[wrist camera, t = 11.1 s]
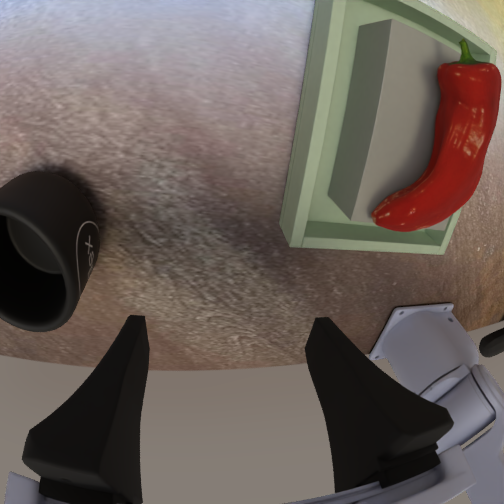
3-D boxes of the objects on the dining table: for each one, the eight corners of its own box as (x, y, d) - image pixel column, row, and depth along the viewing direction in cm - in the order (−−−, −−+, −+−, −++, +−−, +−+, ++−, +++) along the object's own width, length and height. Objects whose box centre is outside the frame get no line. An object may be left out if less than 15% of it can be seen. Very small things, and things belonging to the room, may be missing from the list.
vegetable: (449, 17, 8) (370, 236, 15) (534, 75, 7) (450, 267, 15) (423, 27, 11) (364, 200, 19) (496, 69, 11) (432, 227, 18)
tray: (468, 48, 15) (497, 50, 13) (422, 235, 24) (443, 255, 22) (317, -20, 13) (337, -34, 10) (278, 223, 22) (289, 247, 19)
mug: (112, 169, 18) (70, 216, 12) (106, 279, 22) (83, 346, 16) (-20, 156, 15) (-79, 193, 9) (-9, 255, 19) (-49, 307, 13)
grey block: (449, 64, 16) (486, 70, 12) (415, 207, 22) (444, 231, 18) (358, 25, 14) (392, 18, 11) (327, 195, 20) (350, 221, 17)
